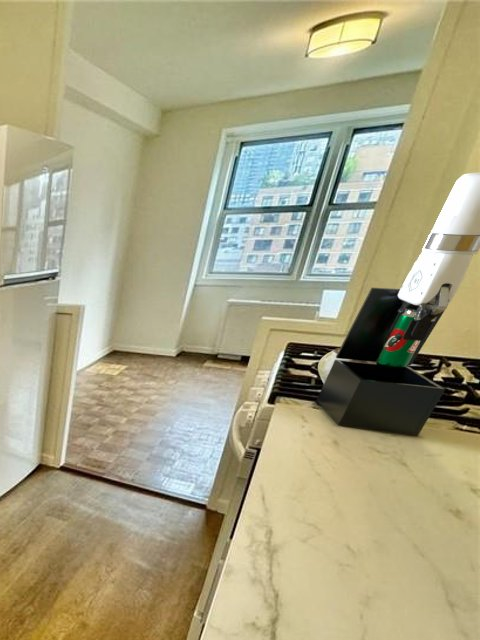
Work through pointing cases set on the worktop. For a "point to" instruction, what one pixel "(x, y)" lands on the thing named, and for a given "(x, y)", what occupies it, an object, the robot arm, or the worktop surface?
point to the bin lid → (376, 326)
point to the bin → (378, 397)
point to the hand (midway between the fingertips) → (405, 335)
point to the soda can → (398, 343)
